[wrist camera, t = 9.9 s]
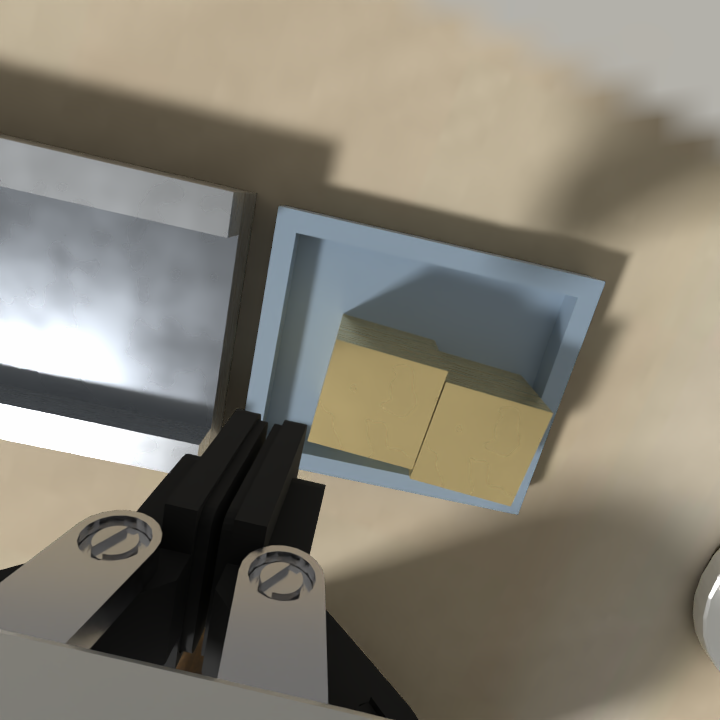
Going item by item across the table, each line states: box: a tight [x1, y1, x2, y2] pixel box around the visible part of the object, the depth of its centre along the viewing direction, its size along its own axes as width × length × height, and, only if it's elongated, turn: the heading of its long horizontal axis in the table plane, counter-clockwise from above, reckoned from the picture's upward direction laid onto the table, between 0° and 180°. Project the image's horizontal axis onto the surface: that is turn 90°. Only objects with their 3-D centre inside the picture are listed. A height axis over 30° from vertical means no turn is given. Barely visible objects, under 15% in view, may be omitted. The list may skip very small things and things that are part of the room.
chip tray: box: [245, 205, 605, 515], centre depth 21 cm, size 13×11×2 cm
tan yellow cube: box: [408, 351, 553, 507], centre depth 20 cm, size 4×4×4 cm
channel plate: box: [0, 134, 257, 473], centre depth 19 cm, size 16×11×4 cm
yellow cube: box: [307, 314, 448, 469], centre depth 20 cm, size 4×4×4 cm
